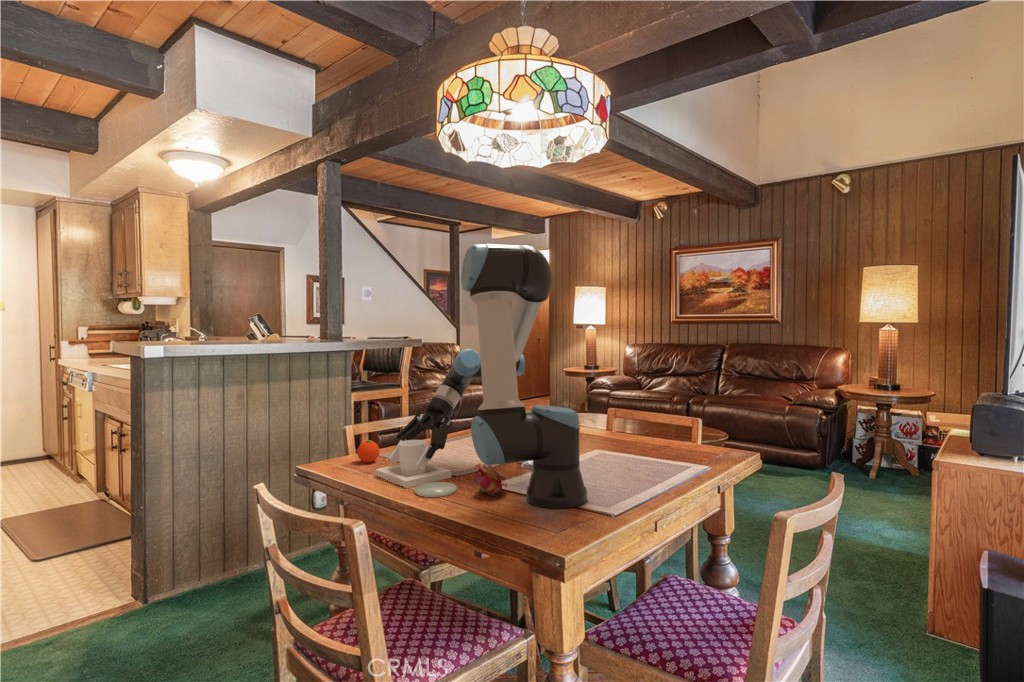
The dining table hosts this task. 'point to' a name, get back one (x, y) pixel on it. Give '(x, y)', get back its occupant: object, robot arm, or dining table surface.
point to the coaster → (435, 489)
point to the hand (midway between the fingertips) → (405, 464)
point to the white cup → (411, 457)
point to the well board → (393, 475)
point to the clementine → (368, 451)
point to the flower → (488, 479)
